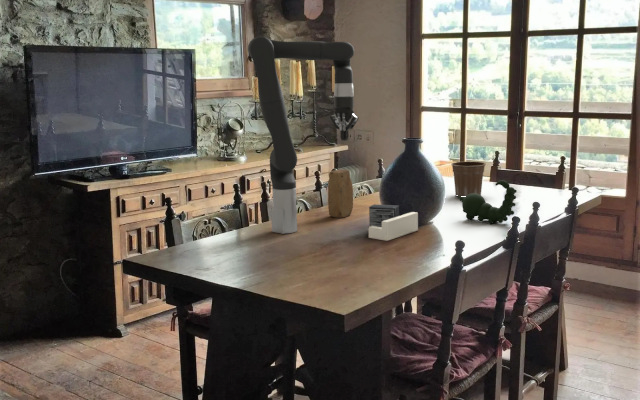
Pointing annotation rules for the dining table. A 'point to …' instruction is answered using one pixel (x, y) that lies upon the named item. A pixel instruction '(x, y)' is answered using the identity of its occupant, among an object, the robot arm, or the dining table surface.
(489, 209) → the toy figurine
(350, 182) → the block
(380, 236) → the board
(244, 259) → the dining table surface
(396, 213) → the small box
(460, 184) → the plant pot
